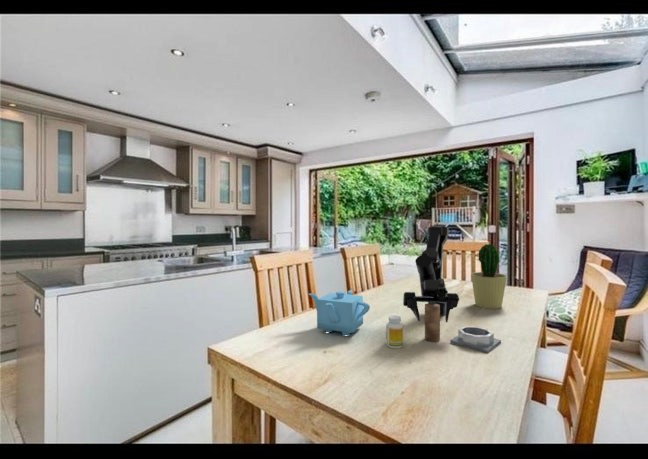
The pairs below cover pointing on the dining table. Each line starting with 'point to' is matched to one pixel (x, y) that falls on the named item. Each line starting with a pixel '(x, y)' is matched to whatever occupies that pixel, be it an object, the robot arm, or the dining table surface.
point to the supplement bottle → (394, 332)
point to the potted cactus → (488, 280)
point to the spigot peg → (432, 322)
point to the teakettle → (340, 311)
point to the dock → (480, 348)
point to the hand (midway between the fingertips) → (432, 321)
